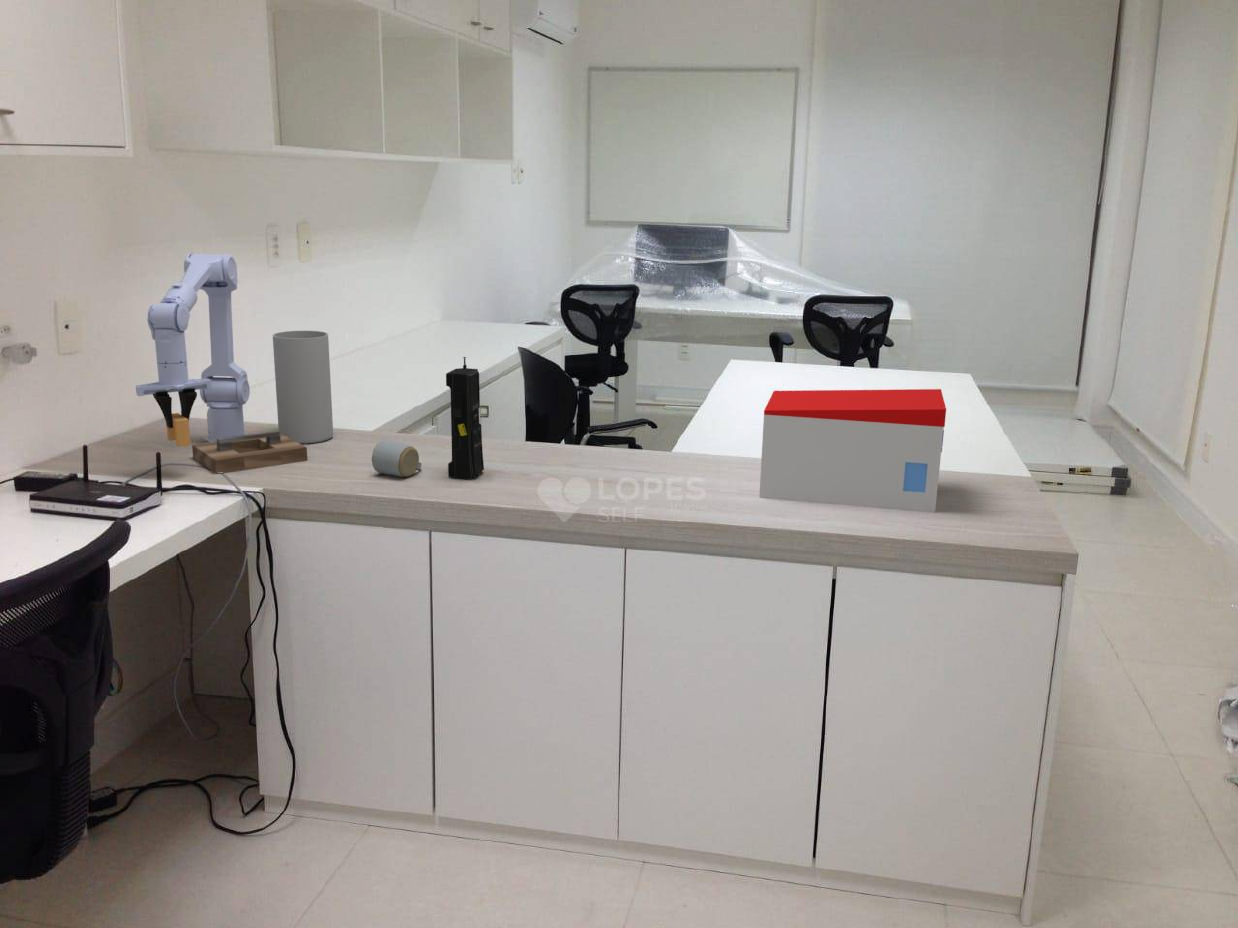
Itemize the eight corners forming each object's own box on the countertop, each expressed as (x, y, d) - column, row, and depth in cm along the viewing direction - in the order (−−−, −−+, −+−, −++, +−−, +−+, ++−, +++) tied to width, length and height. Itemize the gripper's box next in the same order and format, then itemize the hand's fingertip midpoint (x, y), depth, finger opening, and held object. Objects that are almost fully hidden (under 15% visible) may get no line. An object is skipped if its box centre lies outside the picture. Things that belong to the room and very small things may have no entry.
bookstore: (937, 512, 216) (947, 409, 211) (759, 497, 224) (764, 397, 218) (932, 484, 236) (942, 389, 230) (769, 471, 243) (774, 378, 238)
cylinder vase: (268, 441, 260) (260, 336, 253) (302, 430, 271) (296, 329, 264) (311, 447, 255) (305, 340, 249) (343, 435, 266) (339, 333, 260)
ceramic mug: (401, 481, 229) (400, 447, 228) (371, 476, 233) (370, 442, 231) (430, 471, 238) (430, 438, 236) (401, 466, 242) (400, 433, 240)
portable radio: (473, 481, 230) (471, 364, 224) (446, 479, 231) (443, 362, 225) (485, 471, 238) (483, 357, 231) (458, 469, 239) (456, 356, 232)
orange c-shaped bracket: (167, 439, 232) (165, 414, 230) (179, 438, 233) (177, 412, 232) (178, 447, 226) (175, 421, 225) (190, 445, 228) (188, 419, 226)
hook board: (193, 457, 244) (190, 433, 243) (280, 445, 256) (279, 422, 255) (216, 474, 232) (214, 448, 231) (307, 460, 244) (306, 436, 242)
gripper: (140, 367, 218) (146, 434, 221) (214, 361, 226) (219, 425, 230) (130, 362, 223) (137, 427, 227) (203, 356, 232) (208, 419, 235)
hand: (177, 426), depth 229 cm, fingers closed on orange c-shaped bracket, 2 cm apart
